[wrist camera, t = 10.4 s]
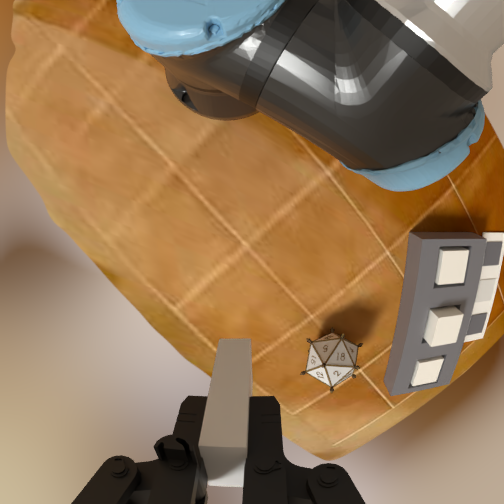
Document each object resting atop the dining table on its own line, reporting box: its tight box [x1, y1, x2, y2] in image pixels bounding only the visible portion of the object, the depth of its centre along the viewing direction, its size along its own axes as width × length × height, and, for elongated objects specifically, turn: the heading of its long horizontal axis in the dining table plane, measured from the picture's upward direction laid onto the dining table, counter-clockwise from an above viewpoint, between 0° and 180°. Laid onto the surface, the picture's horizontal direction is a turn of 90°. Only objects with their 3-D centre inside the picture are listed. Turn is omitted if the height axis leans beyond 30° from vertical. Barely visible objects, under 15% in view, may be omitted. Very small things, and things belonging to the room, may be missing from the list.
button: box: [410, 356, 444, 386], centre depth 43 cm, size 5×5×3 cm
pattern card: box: [464, 232, 504, 342], centre depth 42 cm, size 20×6×1 cm, turn 2°
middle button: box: [423, 306, 464, 347], centre depth 39 cm, size 5×5×3 cm
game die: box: [300, 327, 363, 393], centre depth 41 cm, size 9×8×10 cm
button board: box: [384, 232, 487, 396], centre depth 41 cm, size 26×12×4 cm, turn 2°
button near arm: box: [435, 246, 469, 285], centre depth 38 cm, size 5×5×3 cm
